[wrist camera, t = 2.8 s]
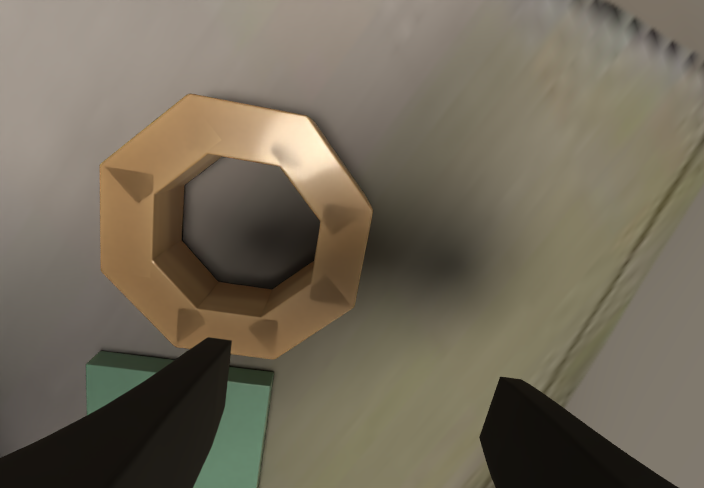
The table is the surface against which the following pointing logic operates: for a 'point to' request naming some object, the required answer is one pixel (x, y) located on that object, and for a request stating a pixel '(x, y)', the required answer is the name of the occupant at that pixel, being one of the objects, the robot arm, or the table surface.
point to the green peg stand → (235, 426)
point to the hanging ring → (185, 268)
